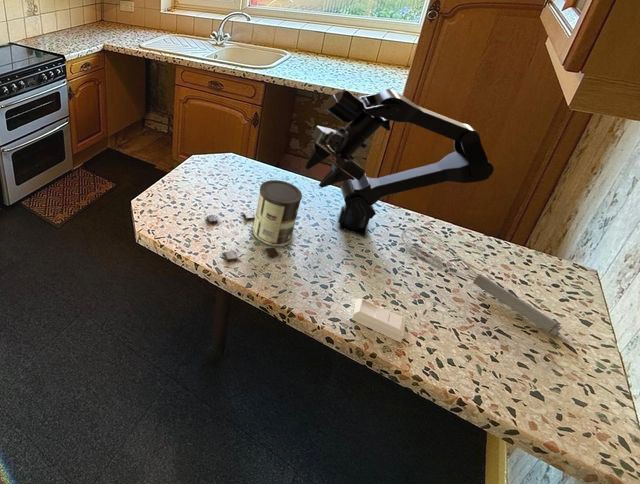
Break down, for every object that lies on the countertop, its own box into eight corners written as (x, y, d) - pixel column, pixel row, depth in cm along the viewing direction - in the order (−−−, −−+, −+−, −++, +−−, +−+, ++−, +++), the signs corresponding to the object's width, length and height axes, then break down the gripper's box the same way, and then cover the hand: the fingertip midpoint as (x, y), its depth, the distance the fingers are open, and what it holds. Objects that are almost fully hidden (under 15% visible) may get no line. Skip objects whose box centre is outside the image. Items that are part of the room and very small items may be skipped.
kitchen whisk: (564, 351, 79) (580, 330, 76) (392, 245, 105) (399, 226, 102) (575, 337, 81) (591, 316, 79) (405, 237, 108) (413, 219, 105)
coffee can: (287, 223, 113) (297, 181, 106) (295, 248, 104) (306, 205, 97) (250, 218, 114) (257, 177, 108) (254, 243, 105) (262, 200, 99)
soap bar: (400, 342, 80) (404, 334, 79) (351, 319, 85) (354, 311, 84) (402, 325, 84) (406, 316, 83) (355, 303, 89) (358, 295, 87)
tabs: (251, 214, 116) (251, 212, 116) (278, 256, 101) (278, 254, 101) (206, 218, 115) (207, 215, 114) (227, 261, 100) (227, 259, 99)
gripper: (317, 103, 107) (278, 146, 112) (352, 131, 90) (303, 181, 95) (347, 124, 109) (307, 165, 114) (387, 156, 92) (337, 203, 97)
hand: (312, 177), depth 105 cm, fingers open, 9 cm apart
